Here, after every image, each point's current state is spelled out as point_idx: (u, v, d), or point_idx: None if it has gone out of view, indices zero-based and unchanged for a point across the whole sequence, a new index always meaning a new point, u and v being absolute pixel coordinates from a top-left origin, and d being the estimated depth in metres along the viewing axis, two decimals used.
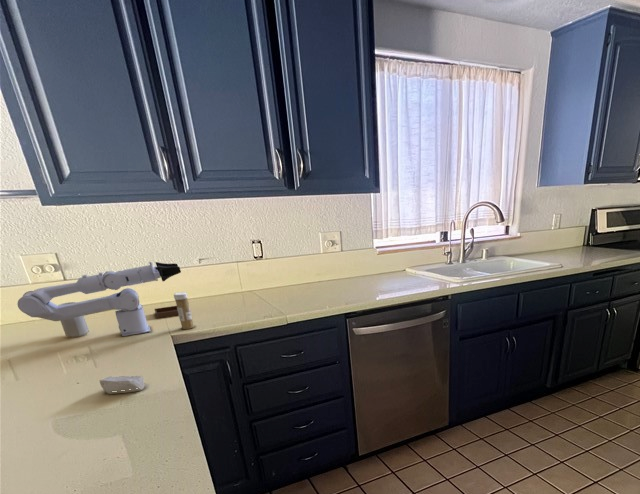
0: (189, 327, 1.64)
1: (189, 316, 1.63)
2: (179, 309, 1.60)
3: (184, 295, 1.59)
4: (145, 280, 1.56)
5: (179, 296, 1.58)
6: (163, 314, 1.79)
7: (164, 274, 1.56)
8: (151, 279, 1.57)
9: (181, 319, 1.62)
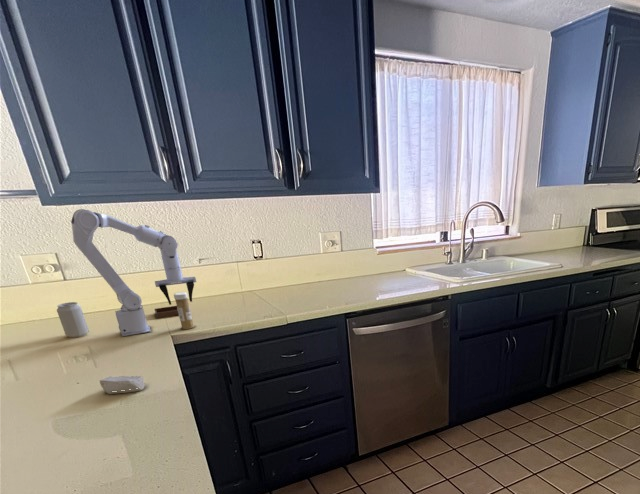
0: (189, 327, 1.64)
1: (189, 316, 1.63)
2: (179, 309, 1.60)
3: (184, 295, 1.59)
4: (179, 270, 1.63)
5: (179, 296, 1.58)
6: (163, 314, 1.79)
7: None
8: (180, 276, 1.64)
9: (181, 319, 1.62)
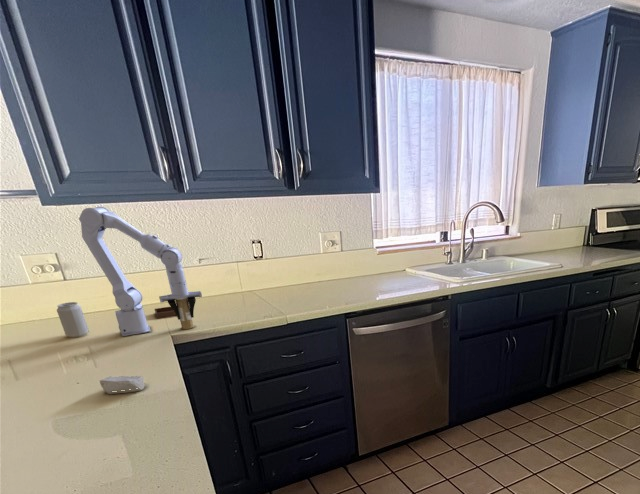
0: (189, 327, 1.64)
1: (189, 316, 1.63)
2: (179, 309, 1.60)
3: None
4: (185, 285, 1.58)
5: None
6: (163, 314, 1.79)
7: None
8: (186, 291, 1.59)
9: (181, 319, 1.62)
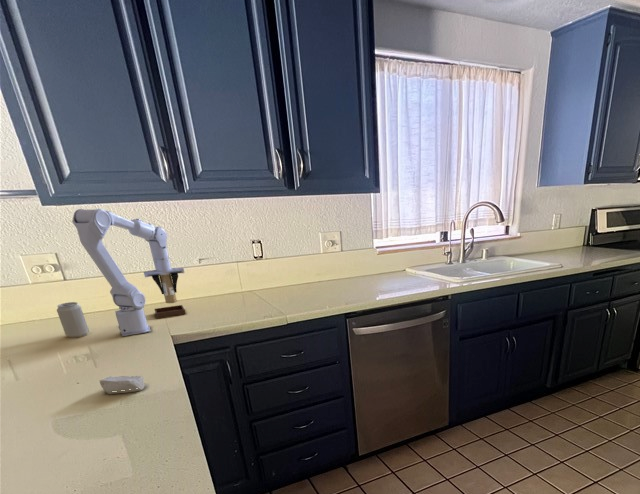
0: (172, 301, 1.74)
1: (172, 291, 1.73)
2: (163, 284, 1.71)
3: None
4: (168, 261, 1.69)
5: None
6: (163, 314, 1.79)
7: None
8: (169, 266, 1.69)
9: (165, 294, 1.73)
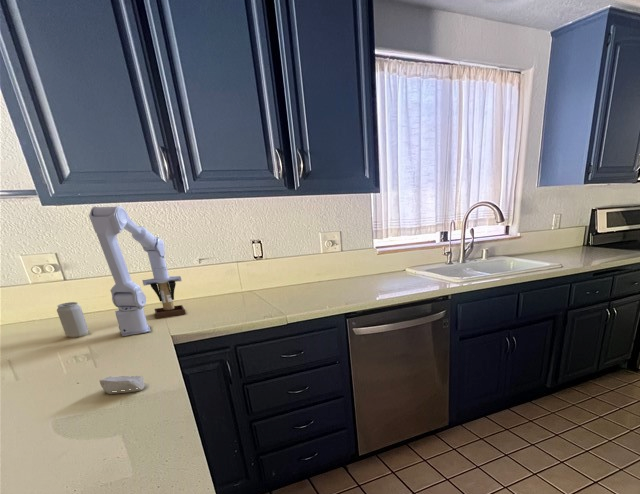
0: (170, 308, 1.82)
1: (170, 298, 1.81)
2: (161, 292, 1.78)
3: None
4: (165, 270, 1.76)
5: None
6: (163, 314, 1.79)
7: None
8: (166, 275, 1.77)
9: (162, 301, 1.80)
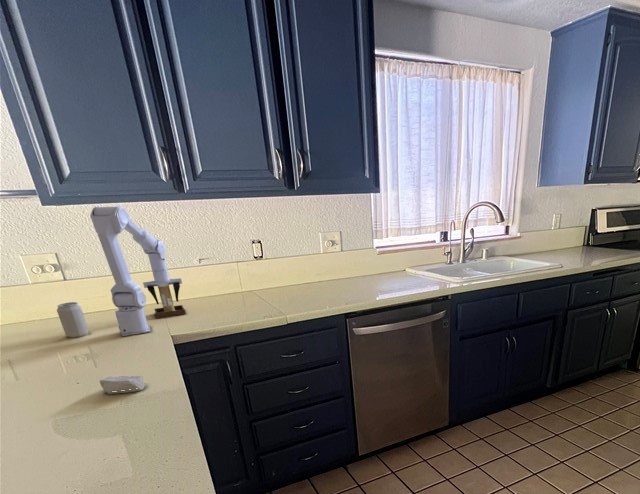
0: None
1: (171, 302, 1.81)
2: (161, 295, 1.79)
3: (166, 283, 1.78)
4: (166, 272, 1.76)
5: None
6: (163, 314, 1.79)
7: None
8: (167, 277, 1.77)
9: (163, 304, 1.81)
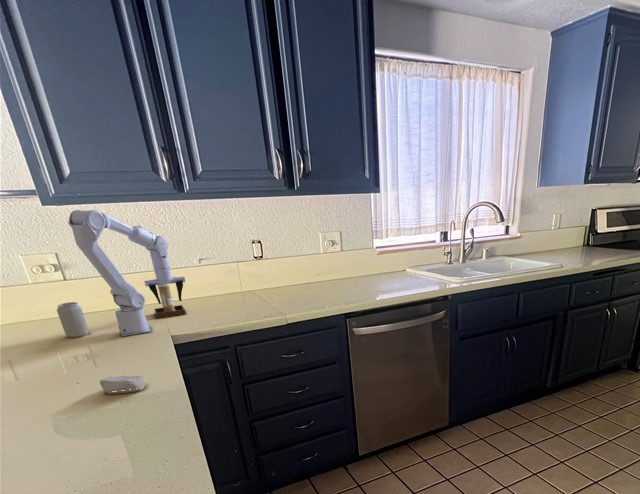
0: None
1: (171, 302, 1.81)
2: (161, 295, 1.79)
3: None
4: (169, 270, 1.67)
5: None
6: (163, 314, 1.79)
7: None
8: (170, 276, 1.68)
9: (163, 304, 1.81)
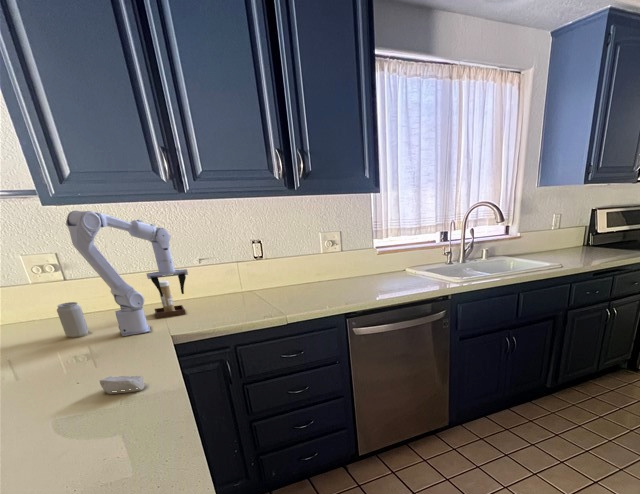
0: None
1: (171, 302, 1.81)
2: None
3: (166, 283, 1.78)
4: (171, 263, 1.65)
5: (161, 283, 1.77)
6: (163, 314, 1.79)
7: None
8: (172, 268, 1.66)
9: (163, 304, 1.81)
